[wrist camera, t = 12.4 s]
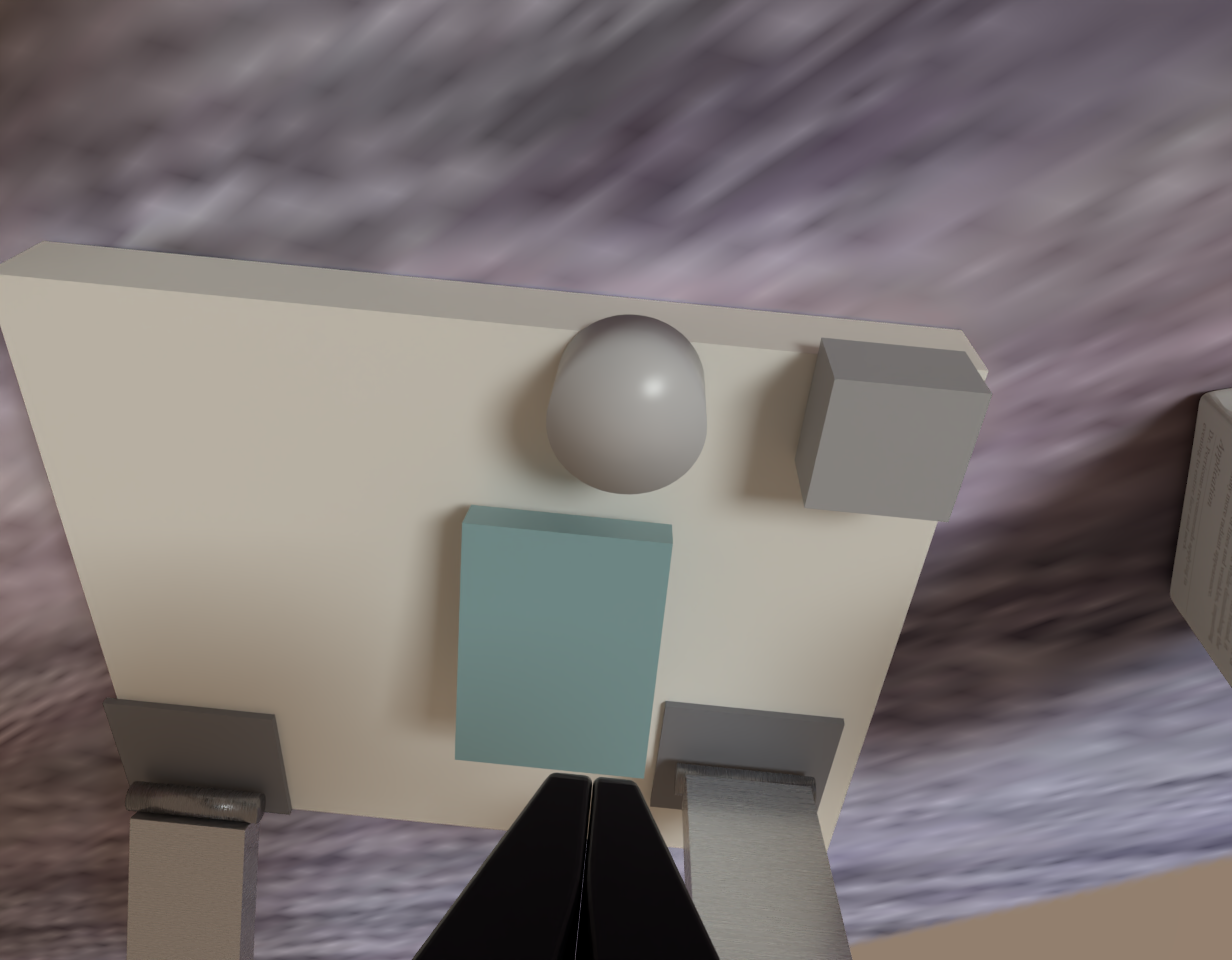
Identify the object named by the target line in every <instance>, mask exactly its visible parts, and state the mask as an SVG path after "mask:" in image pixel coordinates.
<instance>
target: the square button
mask: <svg viewBox="0 0 1232 960" xmlns="http://www.w3.org/2000/svg"><path fill="white" fill-rule="evenodd" d="M991 397H992V393H991V391H990V390H989V388H988V387H987V385H986V383H985V382H984V380H983V379H982V377H981V376H980V374H979V372H978V371H977V369H976V368H975V366H974V365H973V363H972V361H971V360H970V358H969V357H968V355H967V354H966V352H965V351H955V350H945V349H935V348H924V347H914V346H904V345H893V344H883V343H873V342H863V341H852V340H842V339H832V338H822V337H821V341H820V346H819V351H818V355H817V360H816V364H815V369H814V373H813V378H812V382H811V387H810V391H809V396H808V401H807V405H806V410H805V414H804V419H803V423H802V428H801V432H800V437H799V442H798V446H797V451H796V455H795V465H796V470H797V474H798V479H799V484H800V489H801V494H802V498H803V503H804V508H809V509H819V510H829V511H839V512H849V513H860V514H870V515H880V516H890V517H900V518H910V519H920V520H931V521H941V522H949V519H950V516H951V513H952V510H953V507H954V504H955V501H956V498H957V495H958V492H959V490H960V487H961V484H962V481H963V478H964V475H965V472H966V469H967V466H968V463H969V460H970V458H971V455H972V452H973V449H974V446H975V443H976V440H977V437H978V434H979V431H980V429H981V426H982V423H983V420H984V417H985V414H986V411H987V408H988V405H989V402H990V399H991Z"/></svg>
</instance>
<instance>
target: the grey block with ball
mask: <svg viewBox="0 0 1232 960" xmlns="http://www.w3.org/2000/svg"><path fill="white" fill-rule="evenodd" d="M265 805H266V796H265V794H264V793H254V792H244V791H234V790H224V789H214V788H204V787H195V786H185V785H175V784H165V783H155V782H145V781H134V782H133V783H132V784H131V786H130V787H129V789H128V792H127V795H126V799H125V806H126V809H127V810H128V811H137V813H136V814H135V815H133V816H132V817H131V818H130V841H129V884H128V927H127V960H253V952H254V930H255V908H256V885H257V863H258V840H259V822H260V820H261V818H262V816H263V814H264V810H265Z"/></svg>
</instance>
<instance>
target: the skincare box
mask: <svg viewBox="0 0 1232 960" xmlns="http://www.w3.org/2000/svg"><path fill="white" fill-rule="evenodd" d="M1170 597H1171V599H1172V601H1173V603H1174V604H1175V606H1176V607H1177V609H1178V611H1179V612H1180V613H1181V615H1182V616H1183V617H1184V619H1185V620H1186V622H1187V623H1188V625H1189V626H1190V628H1191V629H1192V631H1193V632H1194V634H1195V635H1196V637H1197V638H1198V640H1199V641H1200V642H1201V644H1202V645H1203V646H1204V648H1205V649H1206V651H1207V653H1208V654H1209V656H1210V657H1211V659H1212V660H1213V661H1214V663H1215V664H1216V666H1217V667H1218V669H1219V670H1220V672H1221V673H1222V674H1223V676H1224V677H1225V679H1226V680H1227V682H1228V683H1229V685H1230V686H1231V688H1232V388H1228V389H1223V390H1217V391H1212V392H1208V393H1206V394H1204V395H1203V396H1202V397H1201V399H1200V402H1199V407H1198V414H1197V421H1196V428H1195V435H1194V441H1193V448H1192V454H1191V461H1190V467H1189V473H1188V479H1187V486H1186V492H1185V498H1184V505H1183V511H1182V517H1181V524H1180V530H1179V536H1178V543H1177V549H1176V555H1175V562H1174V568H1173V575H1172V582H1171V588H1170Z"/></svg>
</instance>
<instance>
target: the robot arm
mask: <svg viewBox="0 0 1232 960" xmlns="http://www.w3.org/2000/svg"><path fill="white" fill-rule="evenodd" d="M591 793H592V798H591ZM590 803H591V808H590ZM589 813H590V818H589ZM588 824H589V828H588ZM587 834H588V838H587ZM586 844H587V848H586ZM585 854H586V858H585ZM584 864H585V868H584ZM583 874H584V878H583ZM582 884H583V888H582ZM581 894H582V898H581ZM580 904H581V908H580ZM579 914H580V918H579ZM578 923H579V928H578ZM577 933H578V938H577ZM576 943H577V948H576ZM575 953H576V958H575ZM412 960H720V958H719V956H718V954H717V952H716V950H715V947H714V945H713V943H712V941H711V939H710V937H709V935H708V933H707V930H706V928H705V926H704V924H703V922H702V920H701V918H700V916H699V913H698V911H697V909H696V907H695V905H694V903H693V901H692V898H691V896H690V894H689V892H688V890H687V888H686V886H685V884H684V881H683V879H682V877H681V875H680V873H679V871H678V869H677V867H676V864H675V862H674V860H673V858H672V856H671V854H670V852H669V850H668V847H667V845H666V843H665V841H664V839H663V837H662V835H661V833H660V830H659V828H658V826H657V824H656V822H655V820H654V818H653V815H652V813H651V811H650V809H649V807H648V805H647V803H646V801H645V798H644V796H643V794H642V792H641V790H640V788H639V787H638V785H637V783H635V782H634V781H632V780H626V779H616V778H607V777H599V778H597V779H595V781H594V783H593V788H592V780H591V778H589V777H588V776H586V775H577V774H568V773H558V772H557V773H552V774H550V775H549V776H548V777H547V778H546V779H545V780H544V782H543V783H542V784H541V786H540V787H539V789H538V790H537V791H536V793H535V794H534V795H533V797H532V798H531V799H530V801H529V802H528V803H527V805H526V806H525V807H524V809H523V810H522V811H521V813H520V814H519V816H518V817H517V818H516V820H515V821H514V822H513V824H512V825H511V826H510V828H509V829H508V830H507V832H506V833H505V834H504V836H503V837H502V839H501V840H500V841H499V843H498V844H497V845H496V847H495V848H494V849H493V851H492V852H491V853H490V855H489V856H488V857H487V859H486V860H485V862H484V863H483V864H482V866H481V867H480V868H479V870H478V871H477V872H476V874H475V875H474V876H473V878H472V879H471V880H470V882H469V883H468V885H467V886H466V887H465V889H464V890H463V891H462V893H461V894H460V895H459V897H458V898H457V899H456V901H455V902H454V903H453V905H452V906H451V907H450V909H449V910H448V912H447V913H446V914H445V916H444V917H443V918H442V920H441V921H440V922H439V924H438V925H437V926H436V928H435V929H434V930H433V932H432V933H431V935H430V936H429V937H428V939H427V940H426V941H425V943H424V944H423V945H422V947H421V948H420V949H419V951H418V952H417V953H416V955H415V956H414V958H413V959H412Z"/></svg>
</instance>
